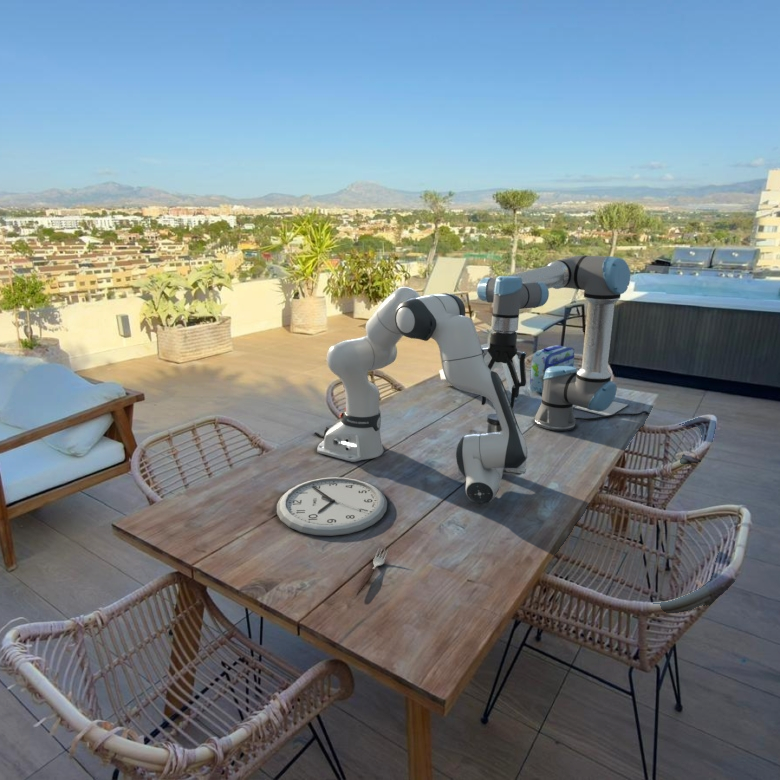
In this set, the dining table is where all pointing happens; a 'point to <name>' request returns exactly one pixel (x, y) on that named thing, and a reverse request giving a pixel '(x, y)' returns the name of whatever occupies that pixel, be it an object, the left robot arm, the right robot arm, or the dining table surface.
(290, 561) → the dining table surface
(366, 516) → the wall clock
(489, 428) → the silver metal canister
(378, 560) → the fork
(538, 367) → the lunch box
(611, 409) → the invitation card
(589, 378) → the right robot arm
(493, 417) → the lid
